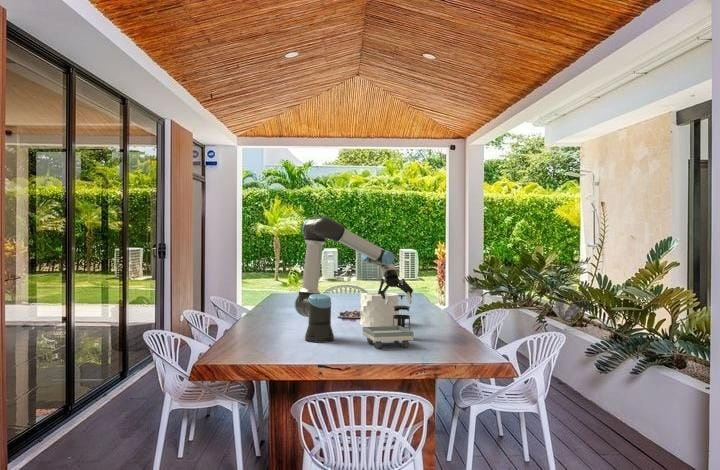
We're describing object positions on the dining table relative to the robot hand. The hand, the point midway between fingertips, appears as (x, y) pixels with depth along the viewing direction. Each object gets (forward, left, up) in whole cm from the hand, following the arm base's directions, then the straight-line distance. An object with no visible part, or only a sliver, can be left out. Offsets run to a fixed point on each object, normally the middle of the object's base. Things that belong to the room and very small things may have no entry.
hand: (398, 302), depth 335 cm
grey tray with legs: (-15, -26, -18) cm, 35 cm away
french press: (-1, -7, -18) cm, 20 cm away
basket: (+2, +42, -18) cm, 46 cm away
